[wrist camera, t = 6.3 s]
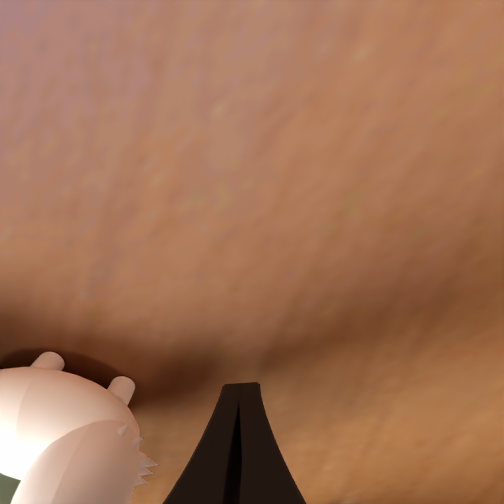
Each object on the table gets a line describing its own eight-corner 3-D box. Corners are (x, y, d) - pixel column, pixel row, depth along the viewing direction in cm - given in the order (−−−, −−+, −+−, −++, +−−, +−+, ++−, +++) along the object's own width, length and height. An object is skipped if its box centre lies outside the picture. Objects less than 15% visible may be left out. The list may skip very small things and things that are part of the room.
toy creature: (155, 445, 15) (95, 640, 9) (-11, 394, 14) (-200, 582, 8) (188, 380, 14) (141, 565, 8) (5, 316, 12) (-214, 480, 7)
